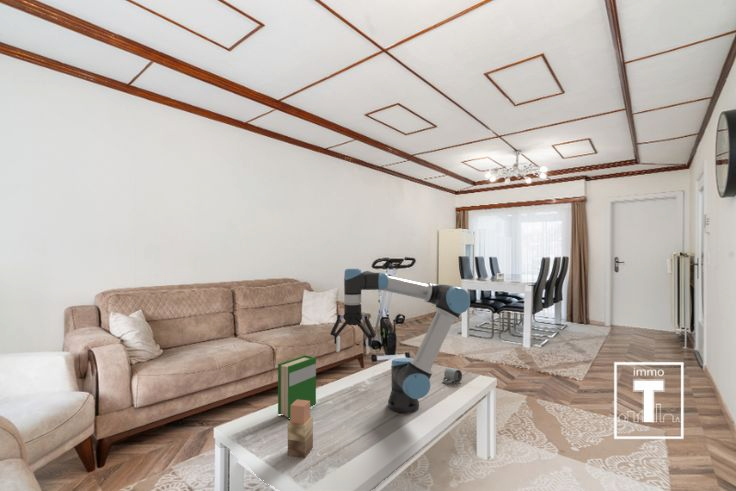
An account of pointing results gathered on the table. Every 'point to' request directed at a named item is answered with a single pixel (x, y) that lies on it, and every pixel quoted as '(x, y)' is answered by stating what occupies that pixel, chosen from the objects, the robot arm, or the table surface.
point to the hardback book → (296, 382)
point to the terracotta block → (300, 411)
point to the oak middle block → (300, 430)
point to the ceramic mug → (452, 375)
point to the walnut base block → (300, 447)
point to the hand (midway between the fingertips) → (352, 352)
